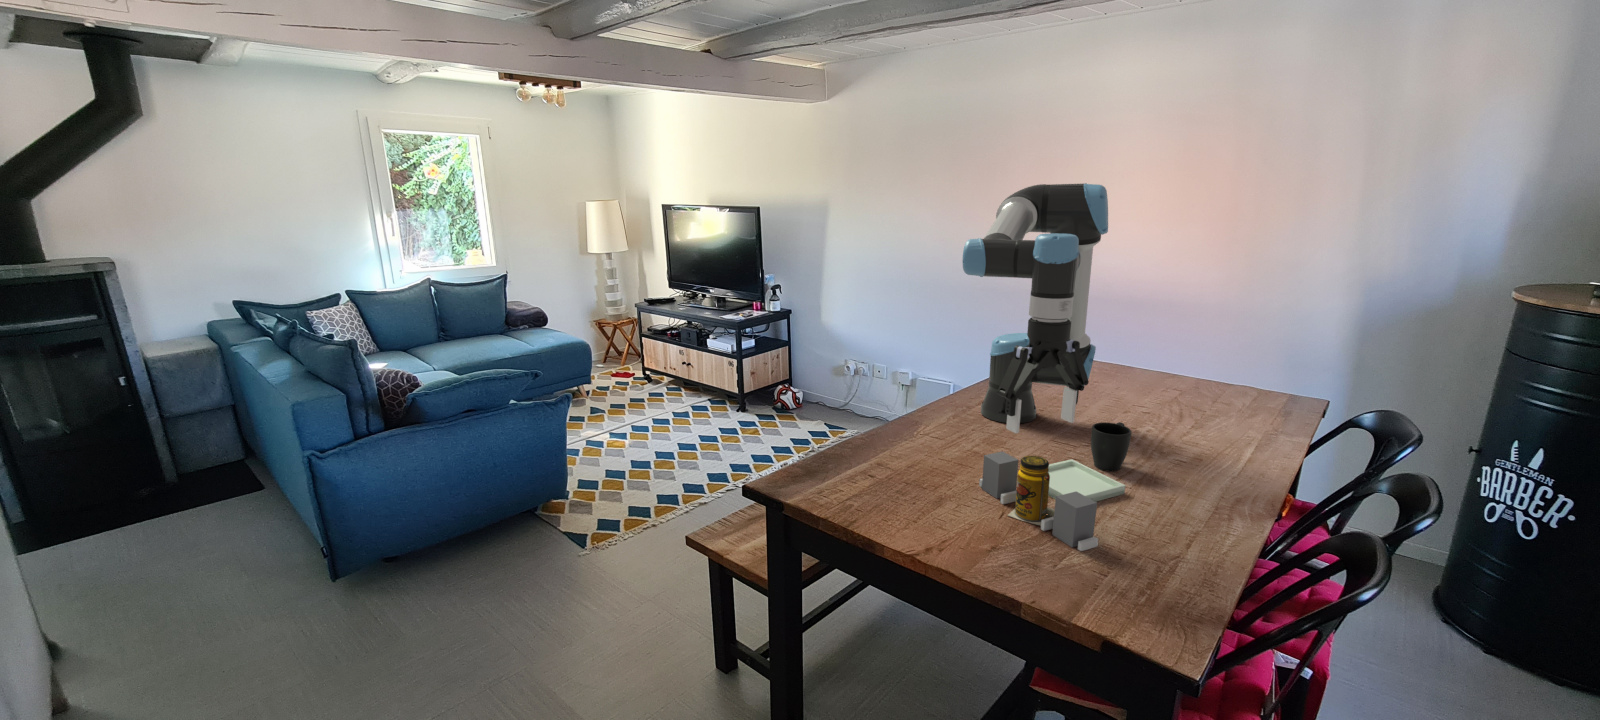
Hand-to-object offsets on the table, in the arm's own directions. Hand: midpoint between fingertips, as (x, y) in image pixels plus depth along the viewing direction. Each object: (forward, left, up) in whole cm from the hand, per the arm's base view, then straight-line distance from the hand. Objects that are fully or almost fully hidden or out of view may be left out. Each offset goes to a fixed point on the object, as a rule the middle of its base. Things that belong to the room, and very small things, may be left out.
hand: (1040, 425), depth 128 cm
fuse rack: (0, 0, -19) cm, 19 cm away
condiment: (0, 0, -19) cm, 19 cm away
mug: (-11, +33, -19) cm, 40 cm away
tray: (-6, +16, -19) cm, 26 cm away
